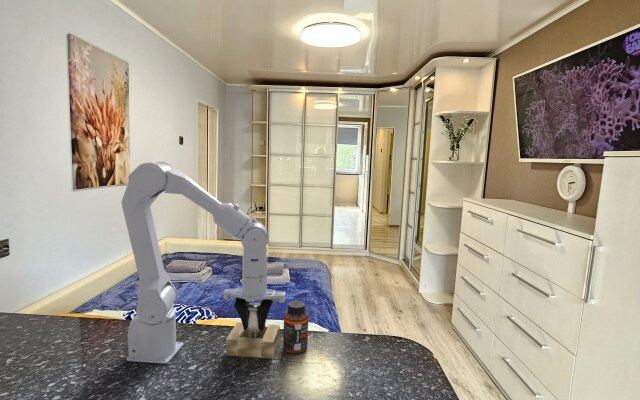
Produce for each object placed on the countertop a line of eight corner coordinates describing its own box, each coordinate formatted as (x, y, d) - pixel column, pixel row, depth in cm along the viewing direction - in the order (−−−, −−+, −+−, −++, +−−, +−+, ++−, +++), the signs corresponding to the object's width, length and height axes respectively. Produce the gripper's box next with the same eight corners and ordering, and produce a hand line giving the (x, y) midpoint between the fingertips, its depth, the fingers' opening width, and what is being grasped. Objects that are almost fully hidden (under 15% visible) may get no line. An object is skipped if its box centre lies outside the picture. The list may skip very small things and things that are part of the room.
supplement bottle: (304, 356, 78) (305, 310, 77) (279, 353, 79) (280, 307, 78) (309, 343, 84) (311, 300, 82) (287, 339, 85) (288, 297, 84)
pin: (243, 345, 78) (244, 308, 78) (248, 337, 82) (248, 302, 82) (259, 346, 78) (260, 309, 78) (263, 338, 82) (264, 303, 81)
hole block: (226, 355, 77) (226, 339, 77) (237, 337, 85) (237, 322, 85) (272, 358, 77) (273, 342, 76) (279, 340, 85) (279, 325, 84)
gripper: (218, 278, 75) (218, 334, 77) (281, 282, 74) (280, 339, 76) (229, 268, 82) (229, 320, 84) (287, 271, 81) (286, 324, 83)
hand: (254, 328), depth 80 cm, fingers closed on pin, 3 cm apart
